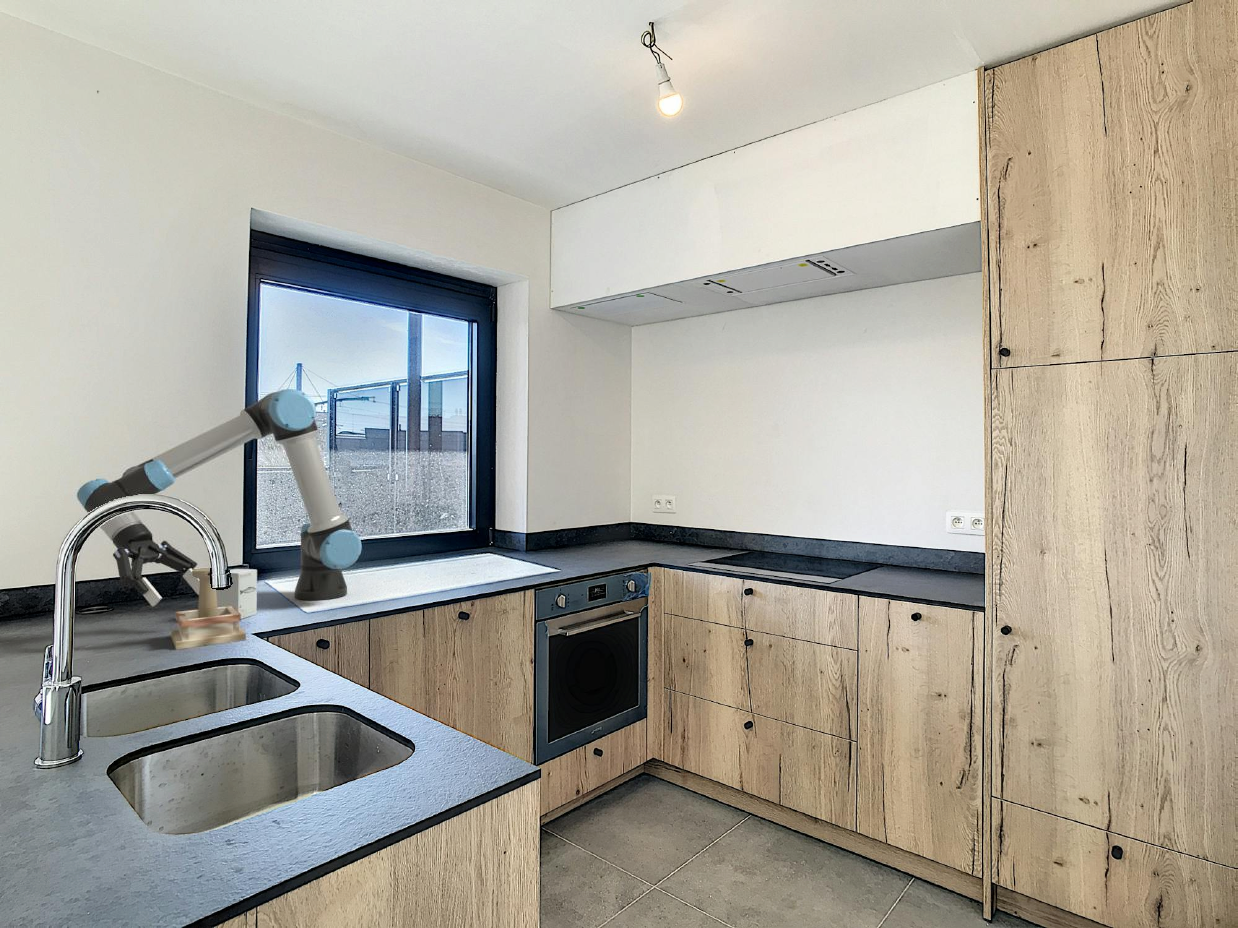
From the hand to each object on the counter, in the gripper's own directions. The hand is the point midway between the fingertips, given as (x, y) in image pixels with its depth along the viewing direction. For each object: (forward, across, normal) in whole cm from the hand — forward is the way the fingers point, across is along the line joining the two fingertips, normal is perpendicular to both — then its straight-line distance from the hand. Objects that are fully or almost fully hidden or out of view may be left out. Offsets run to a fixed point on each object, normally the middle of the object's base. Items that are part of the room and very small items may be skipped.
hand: (181, 596), depth 167 cm
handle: (+11, 0, -1) cm, 11 cm away
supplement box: (+6, -21, -8) cm, 23 cm away
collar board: (+12, 0, -2) cm, 12 cm away
